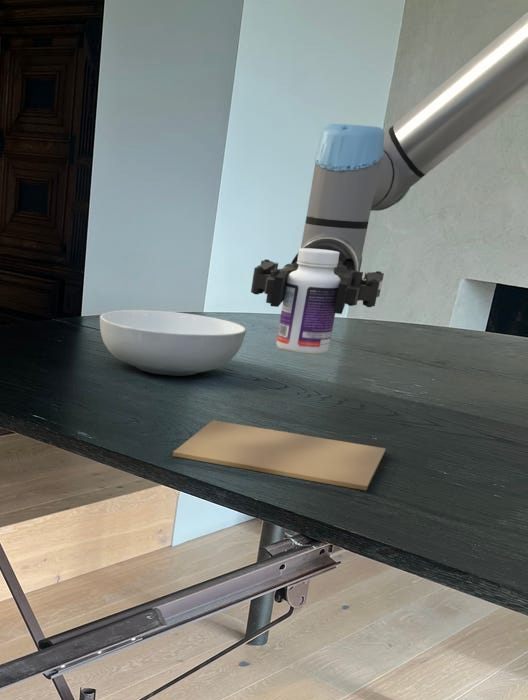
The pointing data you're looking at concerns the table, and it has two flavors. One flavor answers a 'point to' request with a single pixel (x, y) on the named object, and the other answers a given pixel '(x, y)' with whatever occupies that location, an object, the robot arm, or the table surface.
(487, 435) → the table surface
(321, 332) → the pill bottle
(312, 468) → the cork mat
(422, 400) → the table surface
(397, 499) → the table surface
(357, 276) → the robot arm
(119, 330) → the serving bowl
